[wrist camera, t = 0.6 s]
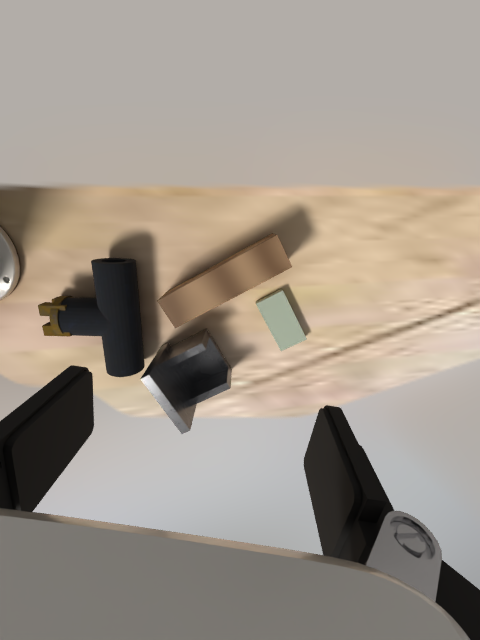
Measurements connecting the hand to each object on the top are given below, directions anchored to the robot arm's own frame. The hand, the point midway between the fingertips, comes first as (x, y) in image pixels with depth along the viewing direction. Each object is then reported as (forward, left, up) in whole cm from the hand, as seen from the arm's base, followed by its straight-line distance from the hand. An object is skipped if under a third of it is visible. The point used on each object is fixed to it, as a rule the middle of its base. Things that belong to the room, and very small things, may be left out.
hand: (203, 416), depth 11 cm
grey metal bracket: (-10, -8, -27) cm, 30 cm away
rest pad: (+4, -8, -27) cm, 29 cm away
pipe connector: (-18, +4, -28) cm, 33 cm away
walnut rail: (0, +1, -27) cm, 27 cm away
